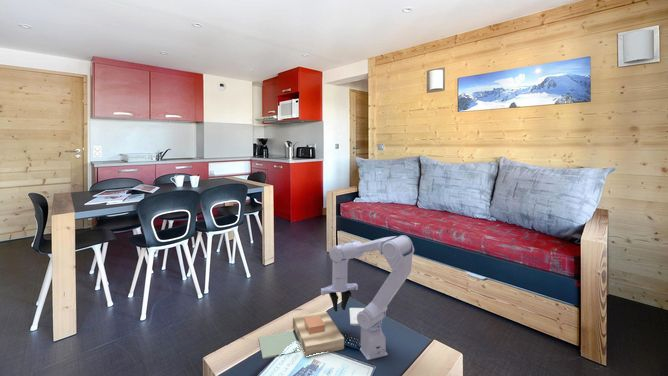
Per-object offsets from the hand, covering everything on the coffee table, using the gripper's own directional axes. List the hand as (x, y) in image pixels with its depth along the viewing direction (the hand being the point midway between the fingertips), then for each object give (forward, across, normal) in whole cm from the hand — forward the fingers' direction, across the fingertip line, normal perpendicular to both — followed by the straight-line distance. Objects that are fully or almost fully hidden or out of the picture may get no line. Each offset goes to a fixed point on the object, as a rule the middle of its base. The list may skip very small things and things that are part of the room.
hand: (339, 309), depth 120 cm
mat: (+9, +24, 0) cm, 25 cm away
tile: (+4, +10, 0) cm, 11 cm away
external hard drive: (+10, -12, -7) cm, 17 cm away
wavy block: (+9, +9, 0) cm, 13 cm away
